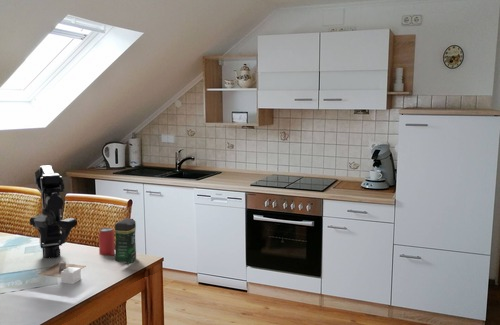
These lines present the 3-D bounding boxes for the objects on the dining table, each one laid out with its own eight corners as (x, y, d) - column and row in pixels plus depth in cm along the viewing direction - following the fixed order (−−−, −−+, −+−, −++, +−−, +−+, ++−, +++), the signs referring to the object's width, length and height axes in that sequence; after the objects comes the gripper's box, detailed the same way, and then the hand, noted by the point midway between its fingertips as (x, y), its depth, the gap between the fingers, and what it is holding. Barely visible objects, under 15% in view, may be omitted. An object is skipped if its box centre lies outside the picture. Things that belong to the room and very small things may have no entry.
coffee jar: (130, 265, 193) (129, 223, 190) (112, 264, 194) (111, 222, 191) (138, 257, 202) (138, 217, 199) (121, 256, 203) (120, 216, 200)
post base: (37, 277, 179) (37, 266, 178) (59, 265, 191) (59, 255, 190) (66, 281, 175) (65, 270, 175) (86, 269, 188) (86, 259, 187)
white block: (61, 286, 171) (60, 271, 170) (69, 280, 176) (69, 266, 175) (72, 287, 170) (72, 273, 169) (81, 282, 175) (80, 268, 174)
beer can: (110, 258, 201) (109, 232, 199) (96, 256, 202) (95, 230, 200) (117, 253, 207) (116, 227, 206) (104, 251, 209) (103, 226, 207)
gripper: (18, 207, 177) (20, 246, 179) (58, 211, 172) (60, 251, 174) (38, 201, 188) (40, 237, 190) (77, 205, 183) (78, 242, 185)
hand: (54, 242), depth 185 cm, fingers open, 9 cm apart
